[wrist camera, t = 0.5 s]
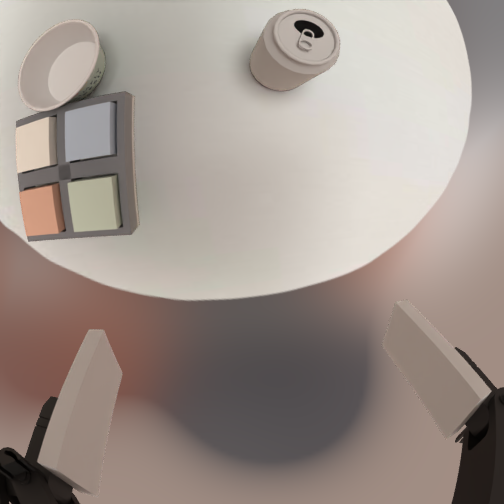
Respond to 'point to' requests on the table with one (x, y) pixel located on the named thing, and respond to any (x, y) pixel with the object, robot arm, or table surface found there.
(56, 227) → the key
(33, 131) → the key
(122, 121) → the keypad
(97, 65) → the food container
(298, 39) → the can
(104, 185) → the key
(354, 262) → the table surface
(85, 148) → the key
